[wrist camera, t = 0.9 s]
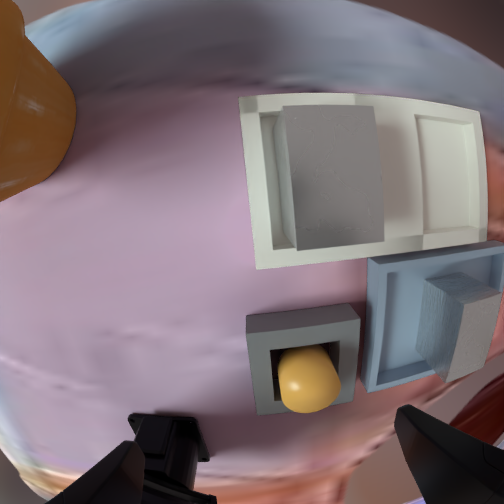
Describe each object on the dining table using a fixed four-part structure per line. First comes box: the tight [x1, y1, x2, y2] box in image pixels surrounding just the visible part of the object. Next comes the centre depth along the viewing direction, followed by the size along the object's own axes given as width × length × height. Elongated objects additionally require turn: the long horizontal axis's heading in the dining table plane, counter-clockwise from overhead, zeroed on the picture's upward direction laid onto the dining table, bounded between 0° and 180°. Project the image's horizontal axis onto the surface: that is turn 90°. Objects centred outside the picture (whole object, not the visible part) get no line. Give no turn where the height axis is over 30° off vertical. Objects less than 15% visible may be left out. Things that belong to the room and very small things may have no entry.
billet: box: [415, 272, 502, 383], centre depth 16 cm, size 6×4×5 cm, turn 6°
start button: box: [277, 344, 341, 413], centre depth 17 cm, size 4×4×3 cm
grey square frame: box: [246, 303, 361, 415], centre depth 19 cm, size 7×7×2 cm
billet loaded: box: [273, 105, 385, 251], centre depth 14 cm, size 6×4×5 cm, turn 6°
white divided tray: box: [238, 93, 488, 270], centre depth 16 cm, size 10×17×2 cm, turn 96°
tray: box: [360, 240, 504, 393], centre depth 18 cm, size 10×13×2 cm
